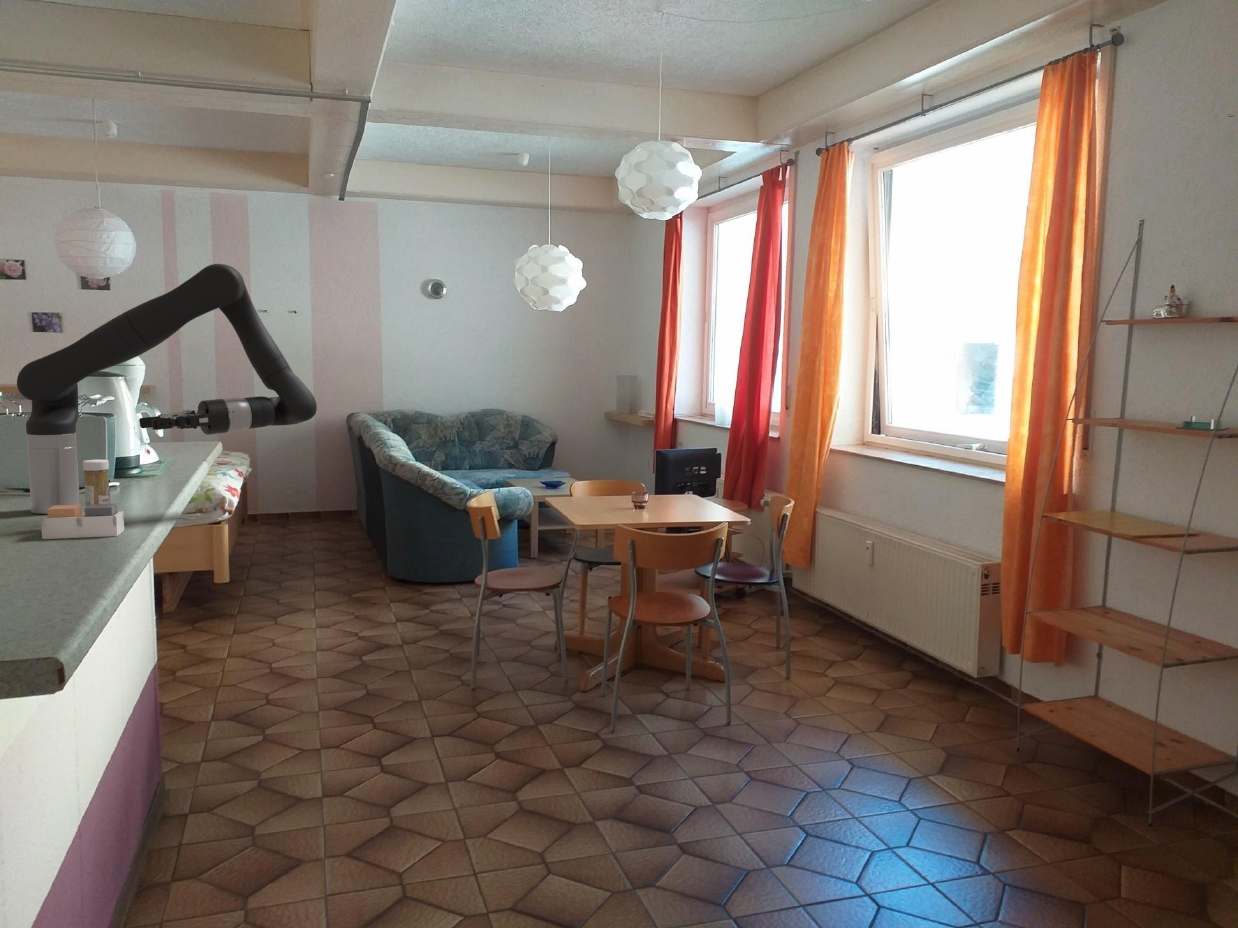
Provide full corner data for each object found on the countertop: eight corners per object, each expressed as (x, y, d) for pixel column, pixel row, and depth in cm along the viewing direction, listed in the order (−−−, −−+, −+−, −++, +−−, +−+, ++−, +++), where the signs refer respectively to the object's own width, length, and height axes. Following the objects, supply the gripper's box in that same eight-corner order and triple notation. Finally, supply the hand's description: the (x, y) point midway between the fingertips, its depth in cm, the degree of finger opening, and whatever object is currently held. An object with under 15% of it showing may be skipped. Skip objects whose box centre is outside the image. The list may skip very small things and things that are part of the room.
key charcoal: (91, 514, 177) (90, 504, 177) (117, 513, 179) (116, 503, 179) (85, 518, 173) (84, 508, 173) (112, 517, 174) (111, 507, 174)
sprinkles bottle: (112, 526, 184) (109, 460, 182) (86, 528, 181) (83, 461, 180) (110, 522, 188) (107, 458, 186) (85, 524, 185) (82, 459, 184)
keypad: (52, 532, 176) (50, 513, 176) (124, 530, 180) (123, 510, 180) (42, 539, 170) (41, 518, 170) (117, 536, 174) (116, 516, 174)
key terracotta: (55, 515, 176) (54, 505, 175) (81, 514, 177) (81, 504, 177) (48, 519, 171) (47, 509, 171) (75, 518, 173) (75, 508, 172)
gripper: (211, 398, 204) (133, 405, 194) (235, 399, 194) (154, 407, 183) (215, 431, 206) (138, 440, 195) (239, 433, 195) (159, 443, 184)
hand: (146, 424), depth 189 cm, fingers open, 8 cm apart
